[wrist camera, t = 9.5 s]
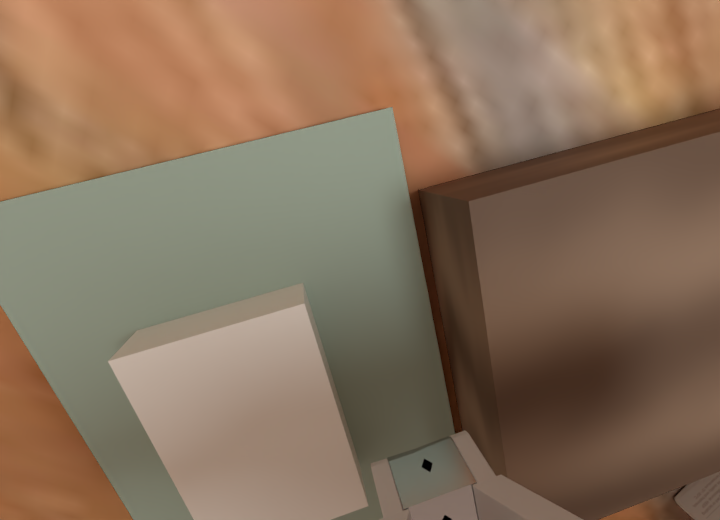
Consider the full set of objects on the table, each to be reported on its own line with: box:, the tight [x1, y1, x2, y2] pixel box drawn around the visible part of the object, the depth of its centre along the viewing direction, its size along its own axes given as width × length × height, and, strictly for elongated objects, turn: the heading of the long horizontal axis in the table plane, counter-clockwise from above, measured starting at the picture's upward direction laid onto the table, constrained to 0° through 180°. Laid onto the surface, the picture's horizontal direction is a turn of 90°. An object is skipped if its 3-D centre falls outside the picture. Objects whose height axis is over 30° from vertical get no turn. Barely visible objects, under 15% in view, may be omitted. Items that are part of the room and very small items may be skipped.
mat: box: [0, 107, 455, 520], centre depth 14 cm, size 20×14×1 cm
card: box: [108, 283, 368, 520], centre depth 13 cm, size 9×6×2 cm, turn 14°
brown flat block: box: [418, 109, 720, 520], centre depth 14 cm, size 14×18×4 cm
